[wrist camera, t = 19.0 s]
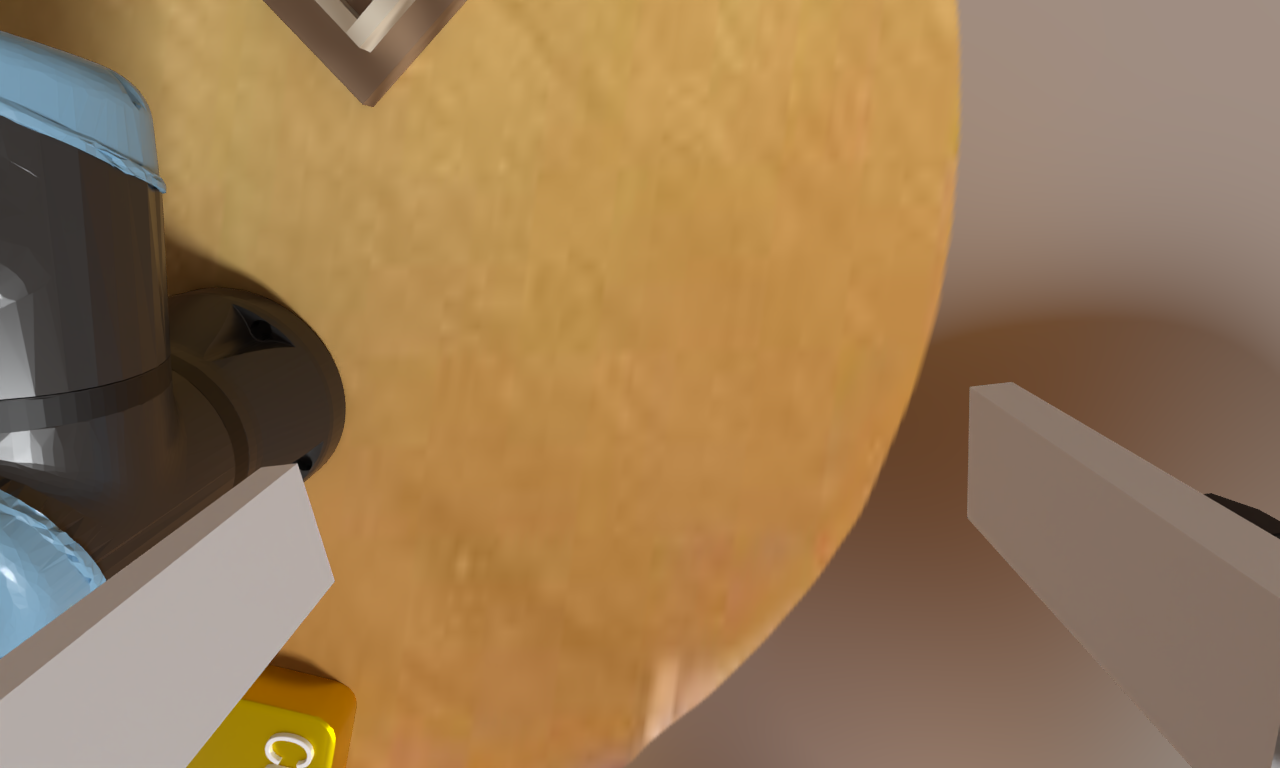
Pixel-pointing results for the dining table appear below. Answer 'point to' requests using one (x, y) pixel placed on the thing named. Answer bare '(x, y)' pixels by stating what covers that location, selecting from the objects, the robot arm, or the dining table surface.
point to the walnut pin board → (366, 36)
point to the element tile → (284, 725)
